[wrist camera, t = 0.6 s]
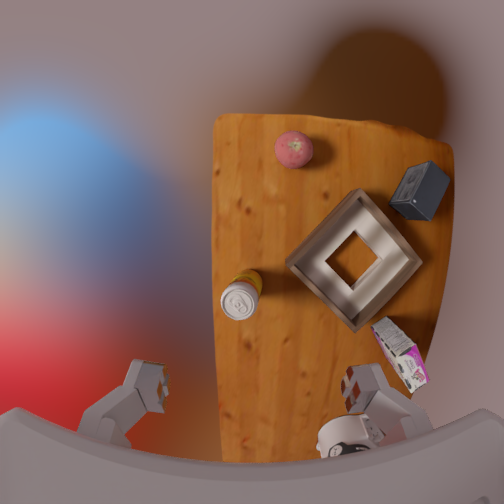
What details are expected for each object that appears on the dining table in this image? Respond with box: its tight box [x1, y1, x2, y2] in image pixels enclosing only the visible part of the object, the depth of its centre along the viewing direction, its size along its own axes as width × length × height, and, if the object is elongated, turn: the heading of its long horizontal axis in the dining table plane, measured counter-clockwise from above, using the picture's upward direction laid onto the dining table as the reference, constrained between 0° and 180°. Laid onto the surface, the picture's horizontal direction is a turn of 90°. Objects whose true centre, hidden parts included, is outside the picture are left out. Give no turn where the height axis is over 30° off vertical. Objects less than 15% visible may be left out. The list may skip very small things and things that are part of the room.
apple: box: [275, 131, 313, 169], centre depth 50 cm, size 7×7×8 cm
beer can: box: [221, 269, 263, 320], centre depth 51 cm, size 6×6×15 cm
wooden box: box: [285, 188, 423, 333], centre depth 52 cm, size 20×20×7 cm
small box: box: [389, 160, 450, 221], centre depth 47 cm, size 11×6×10 cm, turn 148°
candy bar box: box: [371, 316, 430, 393], centre depth 48 cm, size 11×5×16 cm, turn 34°
